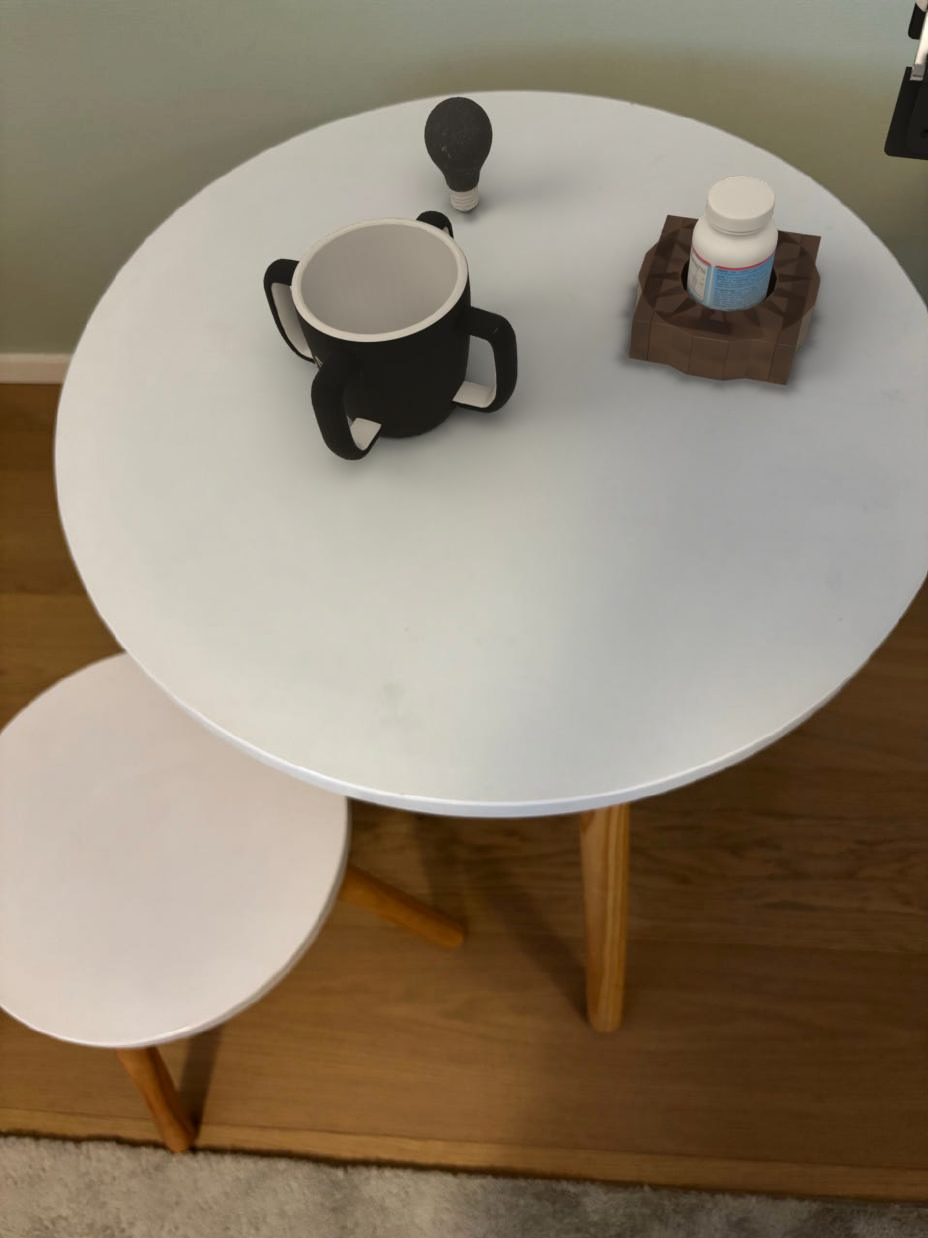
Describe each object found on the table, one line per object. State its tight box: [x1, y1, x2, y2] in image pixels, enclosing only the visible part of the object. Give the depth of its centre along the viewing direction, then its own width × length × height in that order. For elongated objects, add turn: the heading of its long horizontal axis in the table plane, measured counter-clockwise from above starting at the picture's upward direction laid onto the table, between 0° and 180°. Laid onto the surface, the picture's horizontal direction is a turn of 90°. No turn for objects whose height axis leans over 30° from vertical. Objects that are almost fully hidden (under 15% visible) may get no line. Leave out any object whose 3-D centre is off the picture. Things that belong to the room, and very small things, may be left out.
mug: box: [262, 210, 519, 461], centre depth 75 cm, size 16×16×12 cm
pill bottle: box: [686, 175, 779, 311], centre depth 77 cm, size 6×6×11 cm
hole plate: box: [629, 214, 822, 386], centre depth 80 cm, size 13×13×4 cm
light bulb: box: [423, 96, 494, 213], centre depth 87 cm, size 6×6×10 cm
